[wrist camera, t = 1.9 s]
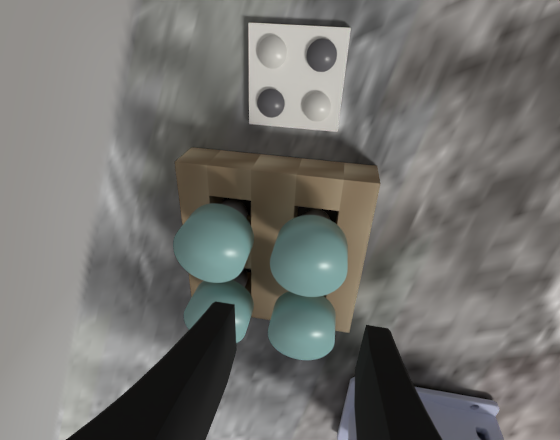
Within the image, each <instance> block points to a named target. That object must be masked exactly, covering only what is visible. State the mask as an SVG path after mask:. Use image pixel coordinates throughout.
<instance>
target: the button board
mask: <svg viewBox="0 0 560 440" xmlns="http://www.w3.org/2000/svg"><path fill="white" fill-rule="evenodd" d="M175 169H176V177H177V185H178V193H179V201H180V209H181V217H182V225H183V224H184V223H185V222H186V220H187V219H188V218H189V217H190V215H191V214H192V213H193V212H194V211H195V210H196V209H197V208H199V207H201V206H203V205H206V204H212V203H217V204H222V202H223V201H224V199H223V197H225V198H234V199H242V200H251V215H247V218H246V219H247V220H248V222H249V223H250V225H251V227H252V230H253V233H254V243H253V246H252V249H251V251H250V253H249V256H248V258H247V261H246V263H245V265H244V268H248V269H251V273H247V274H248V280H247V283H246V285H245V288H246V289H247V290H248V292H249V293H250V294H251V296H252V298H253V302H254V309H253V312H252V315H251V317H254V318H260V319H267V320H271V316H272V312H273V308H274V305H275V302H276V300H277V299H278V298H279V297H280V296H281V295H282V294H284V293H286V292H289V291H288V290H286V289H285V288H283V287H282V286H281V285H280V284H279V283H278V282H277V281H276V279H275V278H274V276H273V274H272V272H271V268H270V258H271V255H272V252H273V248H274V245H275V242H276V239H277V236H278V233H279V231H280V229H281V228H282V227H283V225H284V224H285V223H287V222H288V221H289V220H291V219H293V218H295V217H298V206H302V207H310V208H319V209H327V210H335V211H337V217H336V224H337V225H338V226H339V227H340V228H341V230H342V231H343V232H344V234H345V236H346V239H347V244H348V269H347V276H346V278H345V281H344V282H343V284H342V285H341V286H340V287H339V288H338V289H337V290H335V291H334V292H332V293H330V294H327V295H324V297H325V298H327V299H328V300H329V301H330V302H331V304H332V305H333V307H334V309H335V313H336V320H335V331H341V332H347V333H349V331H350V326H351V321H352V316H353V312H354V307H355V302H356V297H357V293H358V288H359V283H360V278H361V274H362V269H363V264H364V259H365V254H366V250H367V245H368V240H369V235H370V231H371V226H372V221H373V216H374V212H375V207H376V202H377V197H378V193H379V188H380V179H379V174H378V168H377V166H374V165H364V164H354V163H344V162H334V161H324V160H314V159H304V158H294V157H284V156H274V155H264V154H254V153H244V152H234V151H224V150H214V149H204V148H194V147H192V148H190V149H189V150H188V151H187V152H186V153H185V154H183V155H182V156H181V157H180V158H179V159H177V160H176V161H175ZM188 273H189V272H188ZM189 281H190V289H191V297H192V296H193V294H194V293H195V291H196V289H197V287H198V285H199V284H200V283H201V282H202V281H204V280H201V279H198V278H196V277H195V276H193V275H191V274H190V273H189Z"/></svg>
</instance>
